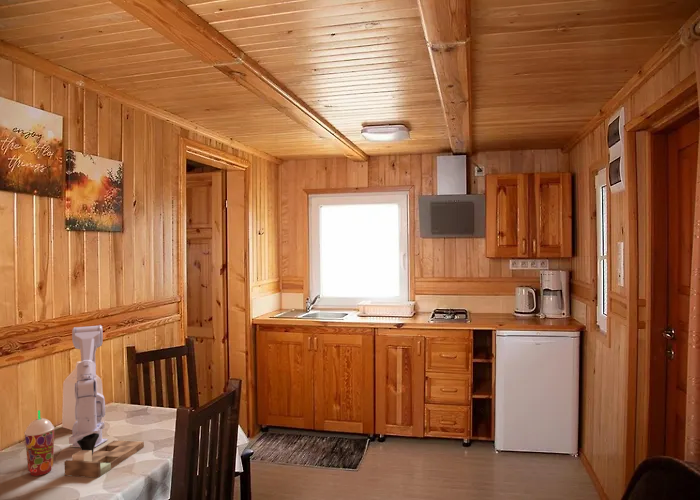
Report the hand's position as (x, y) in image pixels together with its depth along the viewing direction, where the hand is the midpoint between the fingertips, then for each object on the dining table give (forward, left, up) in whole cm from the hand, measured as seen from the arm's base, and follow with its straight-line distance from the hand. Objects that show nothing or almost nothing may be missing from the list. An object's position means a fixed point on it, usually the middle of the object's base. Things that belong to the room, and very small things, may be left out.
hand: (88, 457), depth 167 cm
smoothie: (-13, -6, -3) cm, 14 cm away
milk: (-31, +37, -3) cm, 49 cm away
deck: (+3, +6, -3) cm, 7 cm away
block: (0, -3, -1) cm, 4 cm away
